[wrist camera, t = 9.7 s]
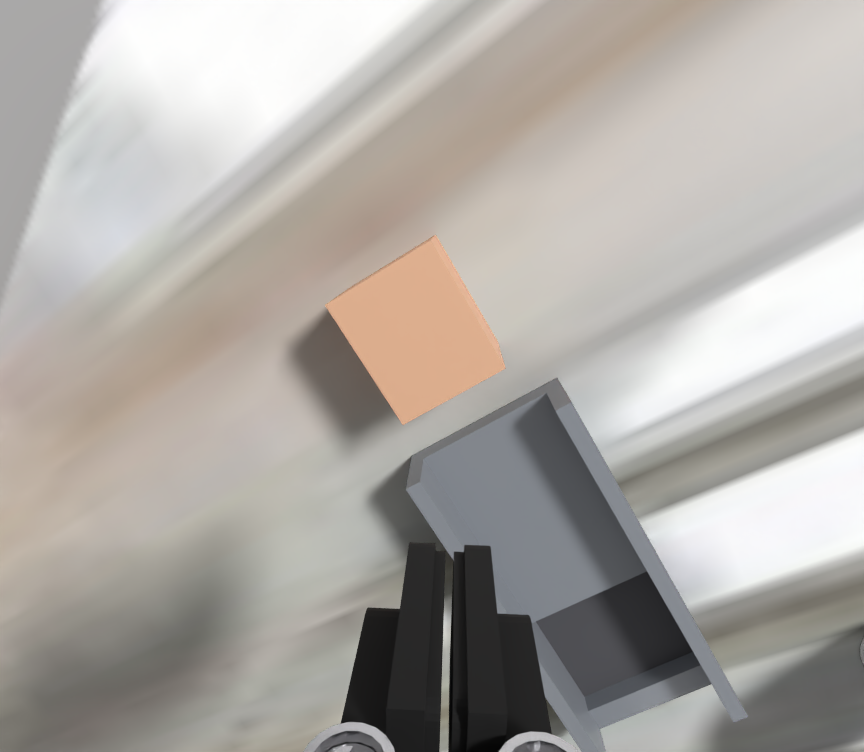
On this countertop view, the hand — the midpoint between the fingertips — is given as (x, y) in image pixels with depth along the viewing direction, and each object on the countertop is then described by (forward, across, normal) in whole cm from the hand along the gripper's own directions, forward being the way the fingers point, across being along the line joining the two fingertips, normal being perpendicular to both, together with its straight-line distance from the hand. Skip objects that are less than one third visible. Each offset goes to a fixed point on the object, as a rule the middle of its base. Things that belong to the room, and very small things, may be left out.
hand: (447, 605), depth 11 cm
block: (+15, 0, 0) cm, 15 cm away
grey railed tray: (+17, -7, +11) cm, 22 cm away
